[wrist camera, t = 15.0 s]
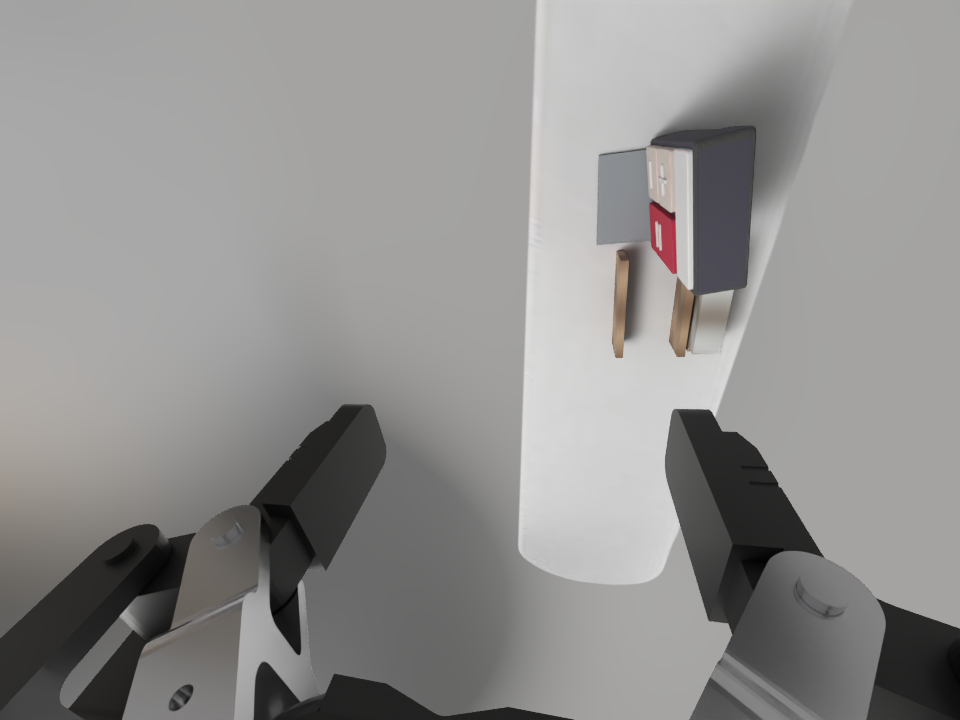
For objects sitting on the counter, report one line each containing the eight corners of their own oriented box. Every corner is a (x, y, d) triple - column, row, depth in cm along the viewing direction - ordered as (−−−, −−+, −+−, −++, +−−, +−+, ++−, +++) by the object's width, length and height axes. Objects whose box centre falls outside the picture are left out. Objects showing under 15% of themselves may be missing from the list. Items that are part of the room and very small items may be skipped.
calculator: (642, 141, 38) (681, 145, 25) (690, 128, 36) (757, 124, 24) (648, 250, 43) (684, 299, 30) (691, 242, 41) (747, 289, 29)
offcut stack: (691, 252, 42) (707, 266, 38) (719, 250, 42) (739, 264, 37) (679, 337, 47) (691, 358, 43) (704, 336, 47) (719, 358, 42)
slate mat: (598, 155, 39) (599, 155, 39) (729, 138, 37) (730, 138, 36) (596, 244, 44) (597, 244, 43) (713, 234, 41) (714, 235, 41)
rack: (616, 251, 44) (621, 261, 40) (689, 245, 42) (700, 255, 39) (612, 342, 49) (615, 357, 46) (676, 341, 48) (684, 356, 44)
